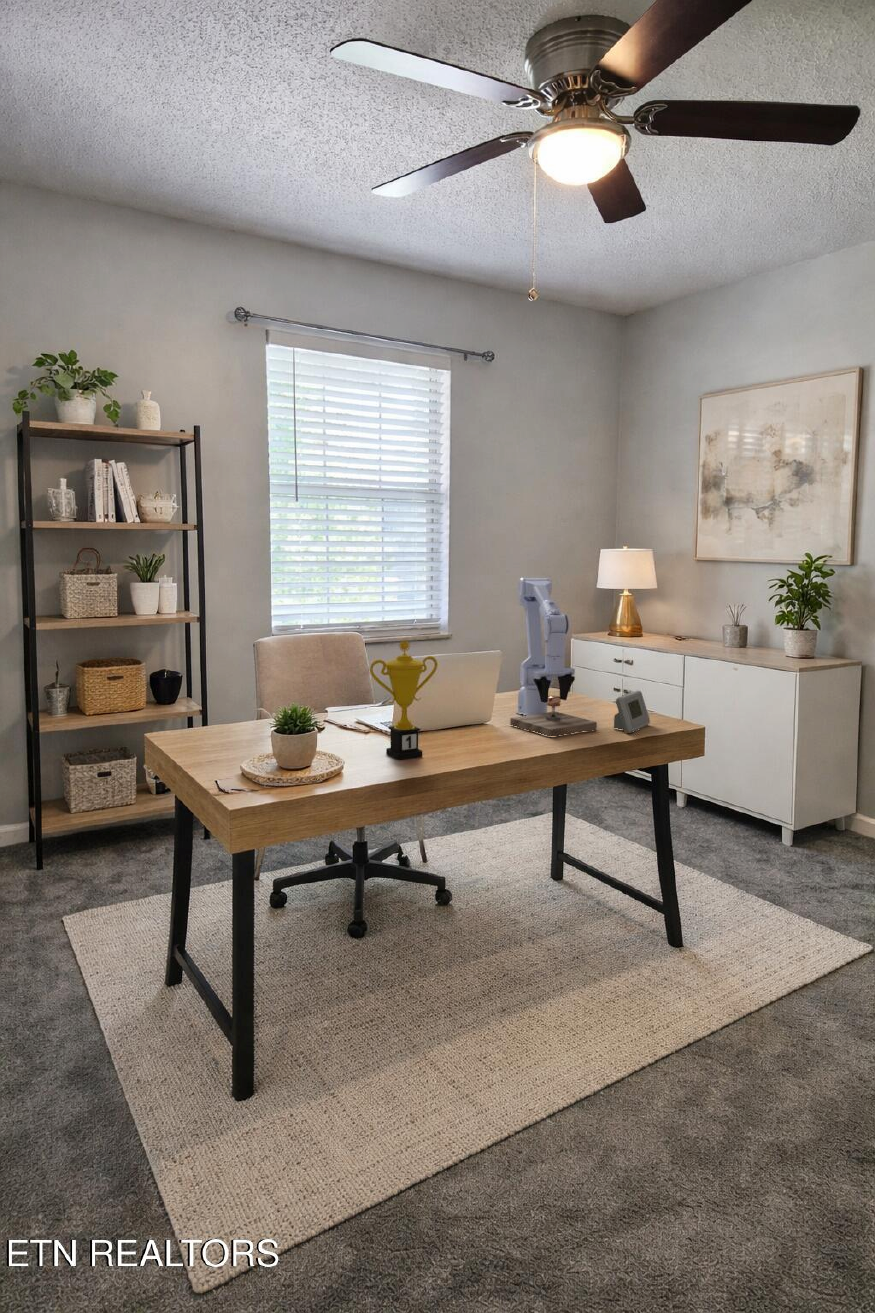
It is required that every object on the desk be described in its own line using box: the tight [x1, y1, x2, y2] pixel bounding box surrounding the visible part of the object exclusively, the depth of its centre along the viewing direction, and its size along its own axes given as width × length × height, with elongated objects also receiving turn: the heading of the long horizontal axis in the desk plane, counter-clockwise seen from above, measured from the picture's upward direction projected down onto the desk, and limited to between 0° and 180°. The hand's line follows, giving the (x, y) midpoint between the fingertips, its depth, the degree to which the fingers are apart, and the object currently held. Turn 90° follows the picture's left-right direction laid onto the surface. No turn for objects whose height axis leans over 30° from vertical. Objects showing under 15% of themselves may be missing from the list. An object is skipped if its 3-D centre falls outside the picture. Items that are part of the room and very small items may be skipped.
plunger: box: [547, 695, 562, 717], centre depth 239 cm, size 4×4×6 cm
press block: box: [509, 711, 598, 736], centre depth 239 cm, size 18×18×4 cm
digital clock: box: [613, 689, 651, 734], centre depth 240 cm, size 16×9×11 cm, turn 133°
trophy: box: [369, 639, 438, 761], centre depth 205 cm, size 19×10×30 cm, turn 120°
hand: (553, 700), depth 238 cm, fingers open, 7 cm apart
